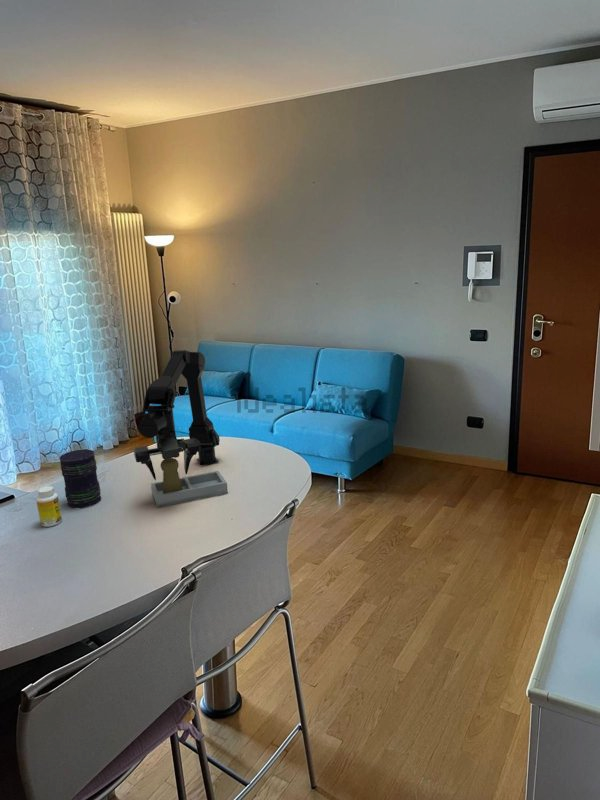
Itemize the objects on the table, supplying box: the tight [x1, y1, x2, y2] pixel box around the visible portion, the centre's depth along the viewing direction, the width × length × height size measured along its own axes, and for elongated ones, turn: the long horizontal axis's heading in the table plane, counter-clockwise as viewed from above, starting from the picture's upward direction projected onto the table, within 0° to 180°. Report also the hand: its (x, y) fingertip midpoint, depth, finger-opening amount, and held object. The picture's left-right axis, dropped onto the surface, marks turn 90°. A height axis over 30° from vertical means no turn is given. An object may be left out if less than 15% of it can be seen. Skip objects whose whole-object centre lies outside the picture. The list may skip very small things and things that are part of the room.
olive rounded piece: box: [160, 458, 183, 494], centre depth 173 cm, size 6×6×11 cm
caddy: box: [150, 470, 229, 509], centre depth 176 cm, size 11×21×4 cm, turn 111°
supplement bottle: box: [35, 485, 63, 528], centre depth 161 cm, size 6×6×10 cm
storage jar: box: [59, 448, 102, 509], centre depth 174 cm, size 10×10×15 cm
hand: (170, 476), depth 173 cm, fingers open, 9 cm apart
